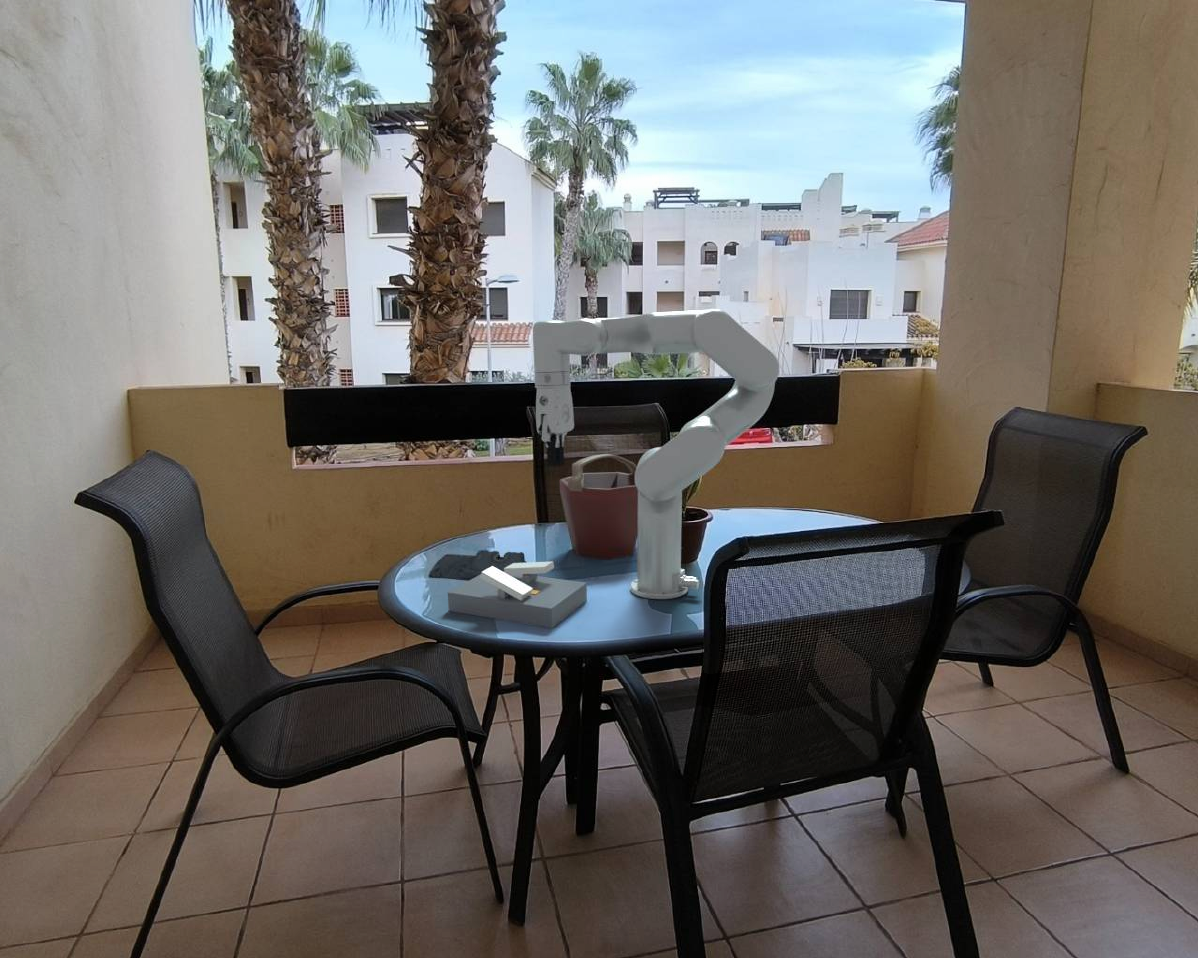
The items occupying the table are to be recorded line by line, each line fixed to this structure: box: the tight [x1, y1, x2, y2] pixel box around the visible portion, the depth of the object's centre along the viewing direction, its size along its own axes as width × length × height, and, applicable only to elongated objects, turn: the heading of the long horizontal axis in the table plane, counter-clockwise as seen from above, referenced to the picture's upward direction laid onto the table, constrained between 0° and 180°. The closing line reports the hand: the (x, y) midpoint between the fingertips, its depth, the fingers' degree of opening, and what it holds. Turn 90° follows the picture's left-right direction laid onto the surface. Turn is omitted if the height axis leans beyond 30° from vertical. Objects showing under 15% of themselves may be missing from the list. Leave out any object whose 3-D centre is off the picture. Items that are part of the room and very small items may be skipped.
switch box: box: [447, 571, 588, 629], centre depth 156 cm, size 24×16×6 cm, turn 66°
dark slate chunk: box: [428, 549, 528, 581], centre depth 180 cm, size 15×22×5 cm
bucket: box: [559, 453, 638, 561], centre depth 194 cm, size 24×22×25 cm
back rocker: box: [504, 561, 555, 575], centre depth 160 cm, size 10×4×1 cm, turn 66°
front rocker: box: [480, 566, 533, 600], centre depth 151 cm, size 10×4×1 cm, turn 66°
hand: (555, 465), depth 162 cm, fingers closed
